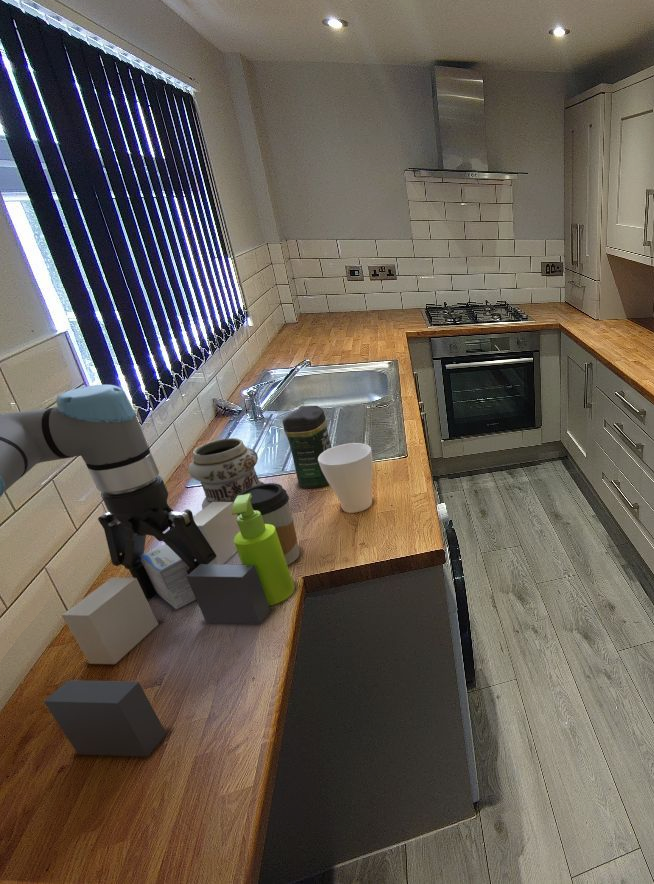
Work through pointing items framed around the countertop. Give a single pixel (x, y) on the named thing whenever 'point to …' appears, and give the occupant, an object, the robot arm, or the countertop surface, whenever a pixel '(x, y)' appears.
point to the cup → (349, 474)
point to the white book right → (219, 529)
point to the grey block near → (106, 717)
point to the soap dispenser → (262, 550)
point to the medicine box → (168, 575)
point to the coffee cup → (276, 515)
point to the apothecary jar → (224, 469)
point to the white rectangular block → (111, 620)
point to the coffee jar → (307, 443)
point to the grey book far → (229, 593)
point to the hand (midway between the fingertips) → (180, 595)
